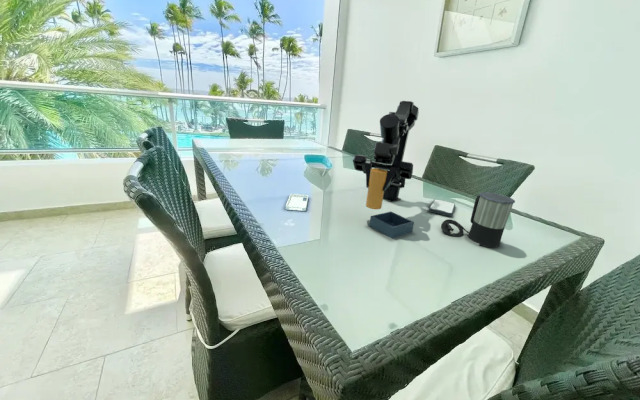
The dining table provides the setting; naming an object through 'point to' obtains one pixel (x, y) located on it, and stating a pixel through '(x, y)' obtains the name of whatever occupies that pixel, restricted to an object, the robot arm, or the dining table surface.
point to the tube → (376, 188)
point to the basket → (391, 224)
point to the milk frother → (485, 219)
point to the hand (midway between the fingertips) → (375, 188)
